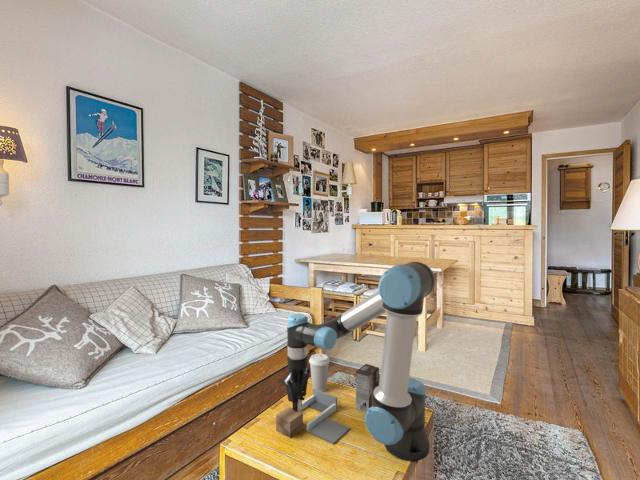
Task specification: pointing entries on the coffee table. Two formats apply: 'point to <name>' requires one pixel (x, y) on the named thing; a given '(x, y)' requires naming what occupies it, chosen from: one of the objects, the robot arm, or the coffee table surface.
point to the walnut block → (289, 422)
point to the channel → (320, 406)
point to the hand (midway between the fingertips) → (297, 416)
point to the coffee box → (366, 386)
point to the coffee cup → (319, 371)
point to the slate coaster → (329, 430)
